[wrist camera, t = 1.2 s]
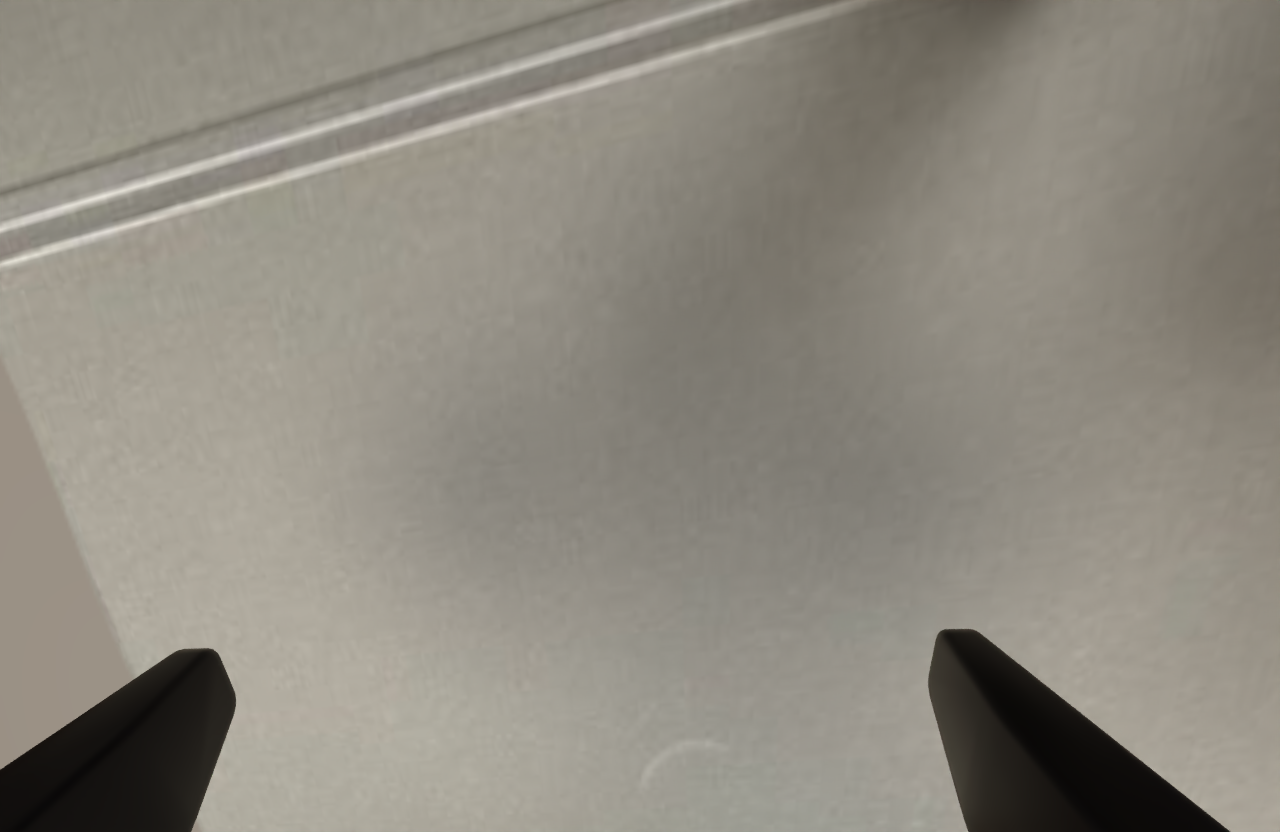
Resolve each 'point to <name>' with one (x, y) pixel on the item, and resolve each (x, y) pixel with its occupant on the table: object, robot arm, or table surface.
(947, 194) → the table surface
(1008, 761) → the robot arm
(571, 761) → the table surface
